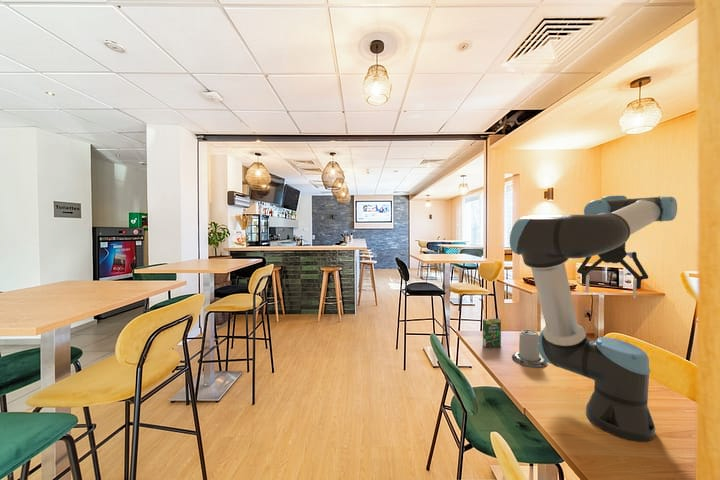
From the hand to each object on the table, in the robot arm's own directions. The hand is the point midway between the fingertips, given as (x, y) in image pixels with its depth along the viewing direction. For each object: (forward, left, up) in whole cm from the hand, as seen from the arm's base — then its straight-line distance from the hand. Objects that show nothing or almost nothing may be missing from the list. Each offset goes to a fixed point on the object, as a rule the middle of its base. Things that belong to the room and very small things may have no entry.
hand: (609, 294), depth 112 cm
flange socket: (+9, +24, -32) cm, 41 cm away
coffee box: (+21, +36, -32) cm, 53 cm away
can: (+9, +24, -31) cm, 40 cm away
